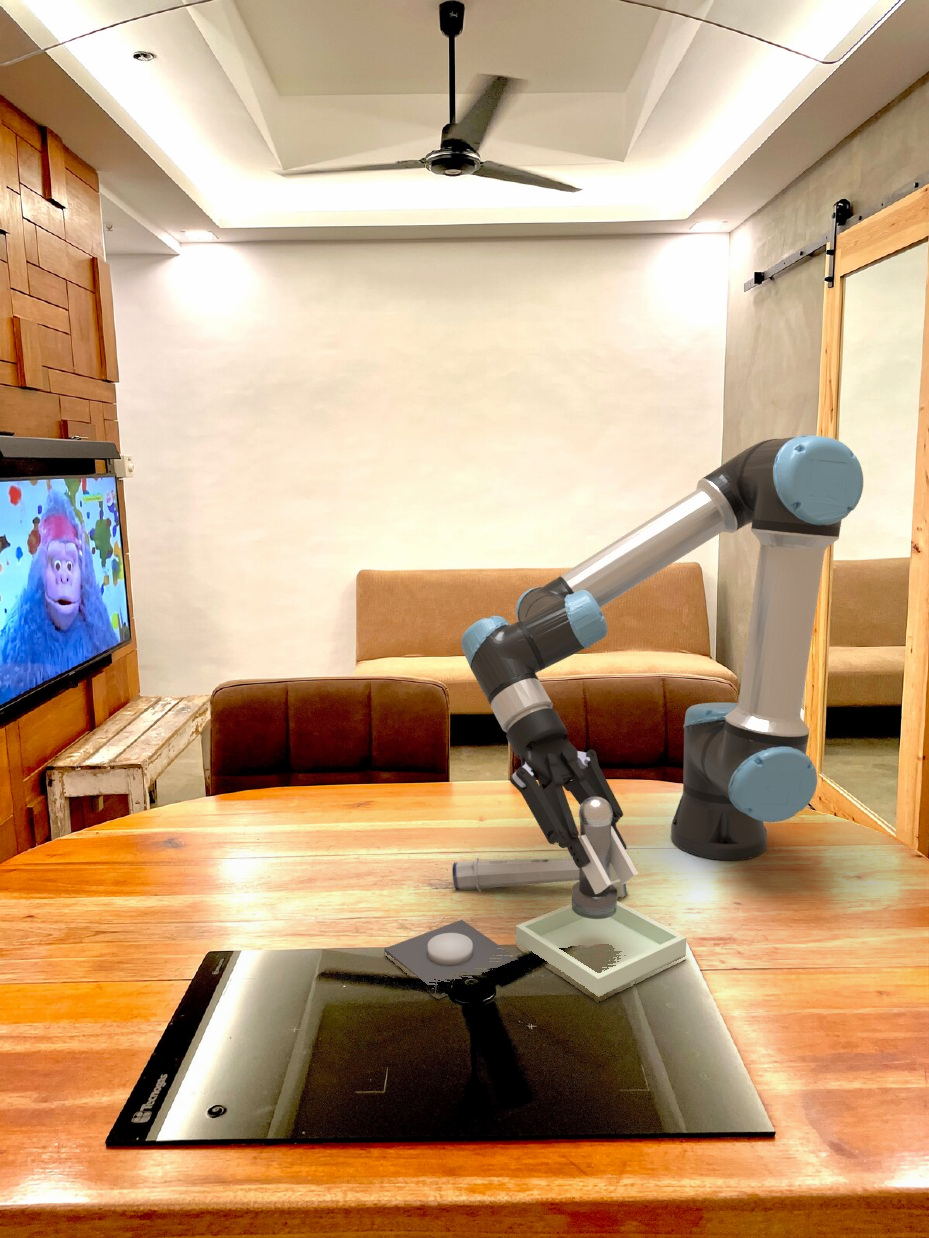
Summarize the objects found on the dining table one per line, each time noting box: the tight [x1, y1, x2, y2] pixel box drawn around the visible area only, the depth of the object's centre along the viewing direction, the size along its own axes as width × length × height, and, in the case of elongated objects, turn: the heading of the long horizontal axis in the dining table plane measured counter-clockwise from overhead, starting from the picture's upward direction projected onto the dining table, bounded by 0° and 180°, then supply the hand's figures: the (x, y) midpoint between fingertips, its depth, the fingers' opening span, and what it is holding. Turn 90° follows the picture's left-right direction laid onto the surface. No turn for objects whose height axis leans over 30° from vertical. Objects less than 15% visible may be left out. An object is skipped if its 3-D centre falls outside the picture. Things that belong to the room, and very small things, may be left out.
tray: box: [515, 900, 687, 997], centre depth 110 cm, size 15×15×3 cm
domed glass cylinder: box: [571, 796, 618, 919], centre depth 108 cm, size 6×6×14 cm
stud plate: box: [384, 919, 519, 989], centre depth 109 cm, size 12×12×2 cm
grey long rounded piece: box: [452, 857, 628, 898], centre depth 127 cm, size 5×7×25 cm
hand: (616, 883), depth 105 cm, fingers closed on domed glass cylinder, 4 cm apart
